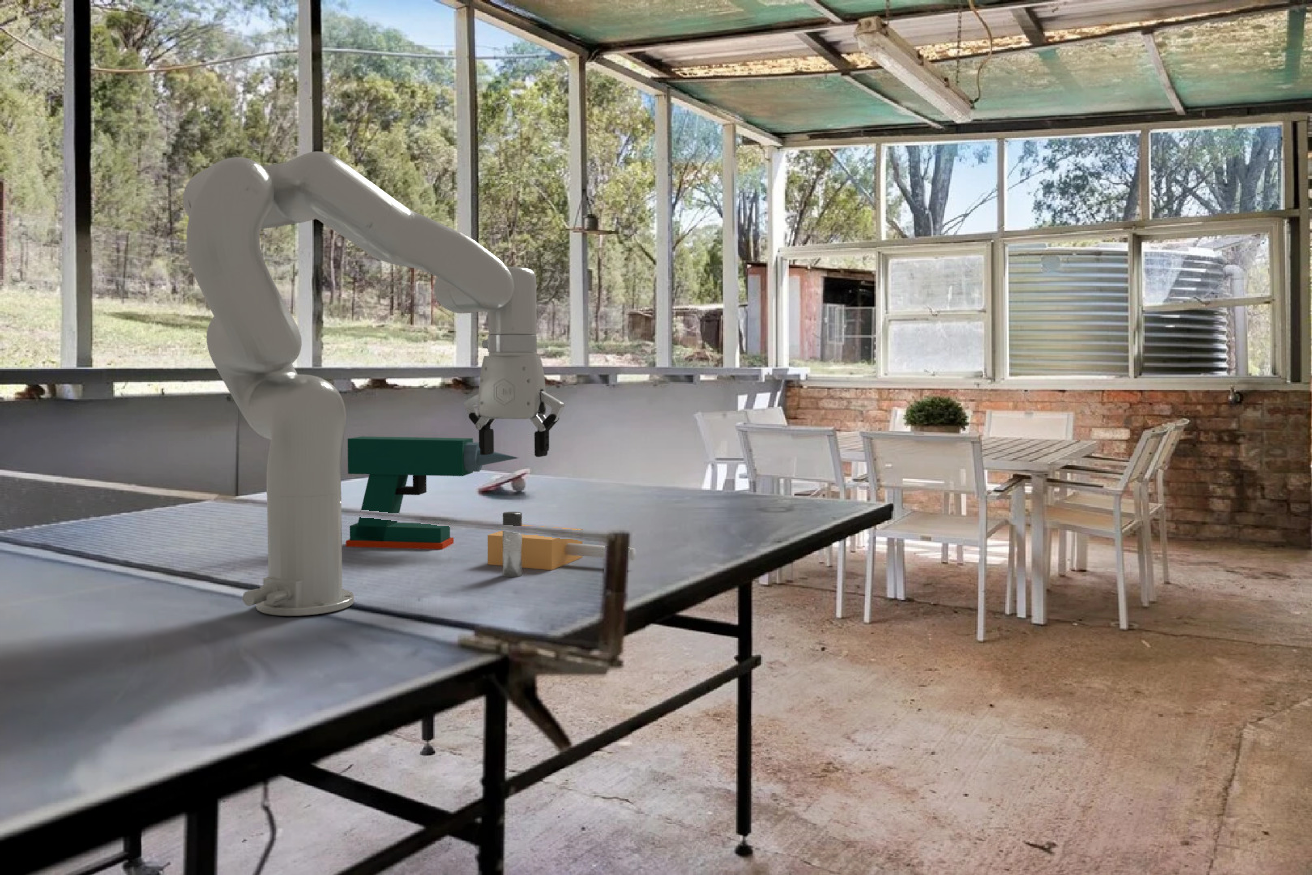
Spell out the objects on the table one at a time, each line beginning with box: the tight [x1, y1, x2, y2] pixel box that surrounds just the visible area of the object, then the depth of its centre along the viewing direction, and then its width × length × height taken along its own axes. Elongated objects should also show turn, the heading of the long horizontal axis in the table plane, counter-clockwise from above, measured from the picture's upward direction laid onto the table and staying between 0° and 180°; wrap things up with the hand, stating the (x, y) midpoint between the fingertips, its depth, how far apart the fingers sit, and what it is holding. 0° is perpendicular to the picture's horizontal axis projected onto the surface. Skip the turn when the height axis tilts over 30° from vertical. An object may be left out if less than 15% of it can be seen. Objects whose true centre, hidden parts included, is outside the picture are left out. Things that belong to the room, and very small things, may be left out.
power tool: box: [345, 435, 519, 550], centre depth 178 cm, size 32×7×20 cm, turn 84°
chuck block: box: [487, 524, 636, 571], centre depth 163 cm, size 12×24×5 cm, turn 70°
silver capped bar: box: [502, 511, 523, 578], centre depth 153 cm, size 3×3×10 cm
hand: (513, 455), depth 152 cm, fingers open, 9 cm apart
